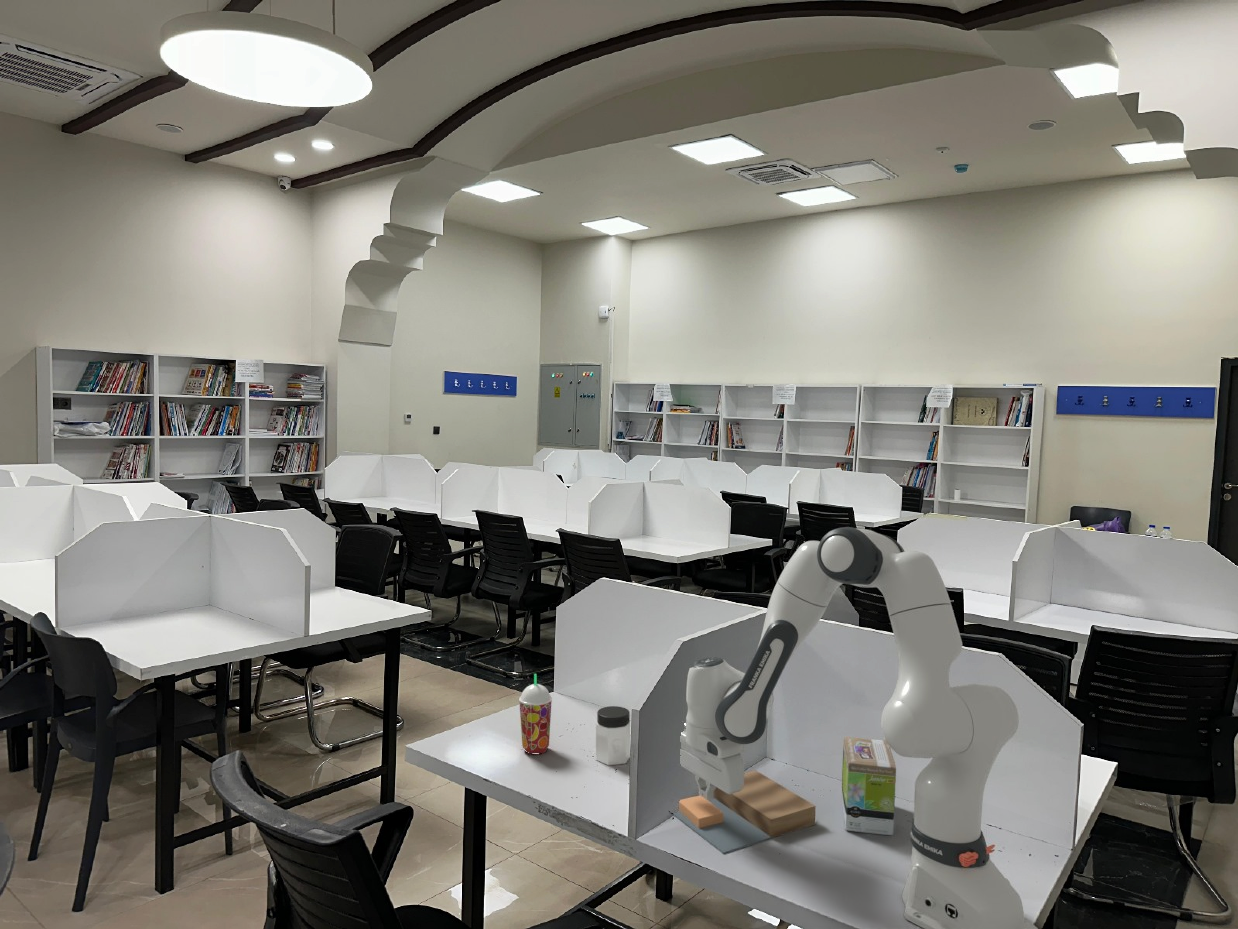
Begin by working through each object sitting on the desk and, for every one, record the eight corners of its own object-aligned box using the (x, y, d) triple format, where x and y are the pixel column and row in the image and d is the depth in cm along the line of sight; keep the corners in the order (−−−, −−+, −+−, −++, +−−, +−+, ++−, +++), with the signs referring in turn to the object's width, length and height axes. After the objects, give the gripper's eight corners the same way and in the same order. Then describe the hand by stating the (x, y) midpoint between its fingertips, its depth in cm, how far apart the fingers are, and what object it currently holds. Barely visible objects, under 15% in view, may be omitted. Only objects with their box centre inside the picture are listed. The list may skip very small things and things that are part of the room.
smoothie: (522, 743, 220) (521, 668, 218) (553, 744, 219) (553, 669, 218) (517, 757, 211) (516, 679, 210) (549, 757, 211) (549, 679, 210)
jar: (599, 767, 206) (599, 719, 205) (592, 753, 213) (592, 707, 213) (634, 763, 208) (634, 716, 207) (626, 750, 216) (626, 704, 215)
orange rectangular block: (698, 818, 175) (698, 828, 175) (723, 813, 178) (723, 822, 178) (677, 800, 183) (677, 809, 183) (701, 795, 186) (701, 803, 186)
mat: (770, 838, 172) (770, 837, 172) (723, 854, 166) (723, 852, 166) (713, 798, 189) (713, 797, 189) (668, 811, 183) (668, 810, 183)
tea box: (895, 837, 173) (897, 767, 172) (844, 832, 175) (846, 762, 174) (887, 803, 187) (888, 738, 186) (840, 799, 189) (842, 735, 188)
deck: (815, 824, 178) (815, 806, 177) (770, 838, 172) (771, 819, 171) (755, 787, 195) (755, 770, 195) (713, 798, 189) (713, 781, 189)
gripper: (665, 721, 185) (665, 782, 186) (726, 754, 168) (725, 820, 169) (688, 716, 189) (687, 775, 190) (749, 747, 172) (748, 812, 172)
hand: (706, 797), depth 179 cm, fingers closed
